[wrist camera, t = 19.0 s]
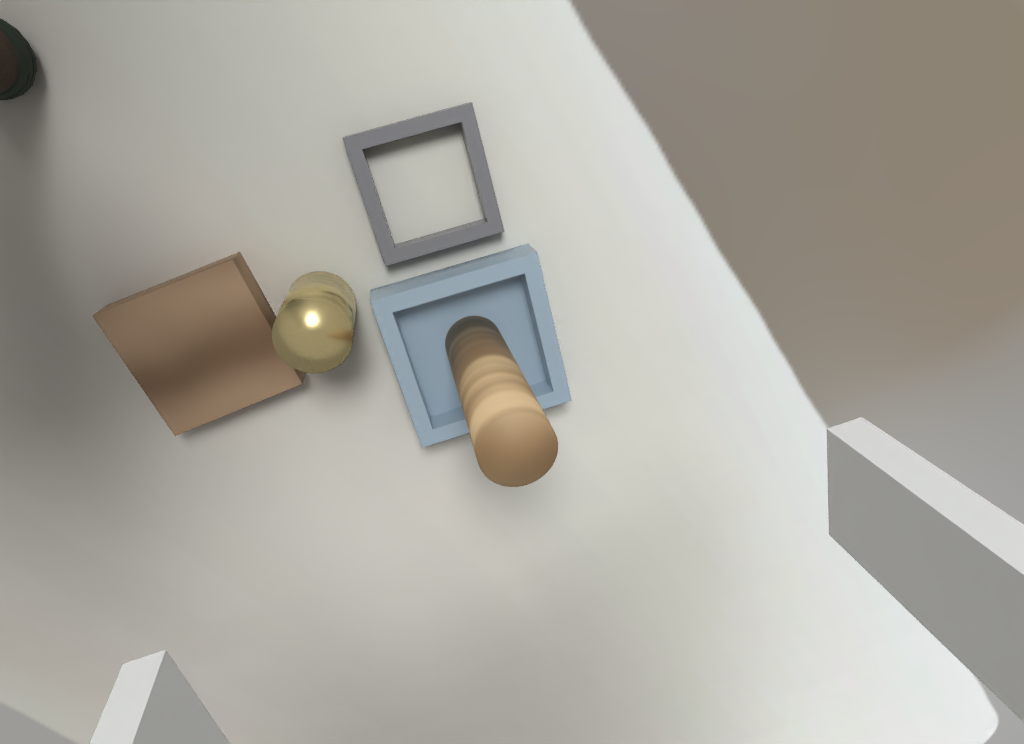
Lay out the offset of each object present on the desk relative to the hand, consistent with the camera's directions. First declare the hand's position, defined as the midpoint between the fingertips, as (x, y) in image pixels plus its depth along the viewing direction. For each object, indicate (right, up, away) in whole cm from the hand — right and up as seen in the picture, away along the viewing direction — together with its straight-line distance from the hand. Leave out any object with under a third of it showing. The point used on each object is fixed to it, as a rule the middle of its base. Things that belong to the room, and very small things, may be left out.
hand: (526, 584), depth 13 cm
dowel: (-3, +6, +28) cm, 29 cm away
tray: (-3, +6, +29) cm, 29 cm away
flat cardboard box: (-18, +6, +26) cm, 32 cm away
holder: (-5, +15, +25) cm, 29 cm away
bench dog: (-12, +8, +26) cm, 30 cm away
